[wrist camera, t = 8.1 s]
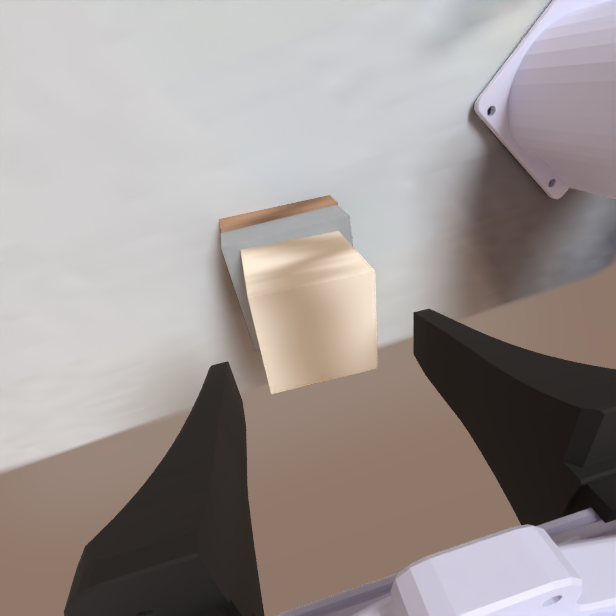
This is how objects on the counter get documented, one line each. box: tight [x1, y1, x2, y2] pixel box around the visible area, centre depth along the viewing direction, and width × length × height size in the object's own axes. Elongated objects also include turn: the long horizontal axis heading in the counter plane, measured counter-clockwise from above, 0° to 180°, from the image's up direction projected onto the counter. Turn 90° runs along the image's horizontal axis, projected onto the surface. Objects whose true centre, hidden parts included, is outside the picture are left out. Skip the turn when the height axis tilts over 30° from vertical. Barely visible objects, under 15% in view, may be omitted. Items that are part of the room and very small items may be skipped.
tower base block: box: [220, 195, 338, 233], centre depth 22 cm, size 6×6×2 cm
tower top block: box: [221, 205, 353, 351], centre depth 20 cm, size 6×6×2 cm
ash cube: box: [240, 231, 377, 394], centre depth 17 cm, size 5×5×5 cm
